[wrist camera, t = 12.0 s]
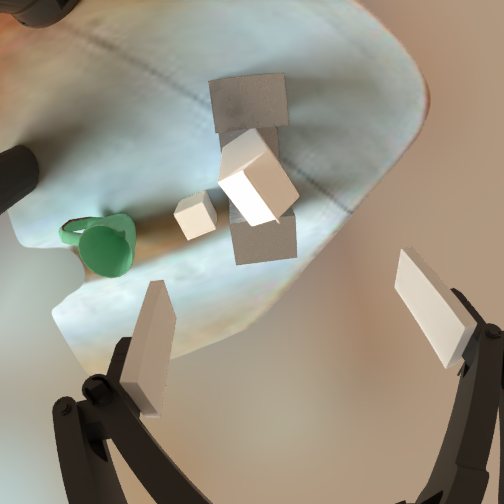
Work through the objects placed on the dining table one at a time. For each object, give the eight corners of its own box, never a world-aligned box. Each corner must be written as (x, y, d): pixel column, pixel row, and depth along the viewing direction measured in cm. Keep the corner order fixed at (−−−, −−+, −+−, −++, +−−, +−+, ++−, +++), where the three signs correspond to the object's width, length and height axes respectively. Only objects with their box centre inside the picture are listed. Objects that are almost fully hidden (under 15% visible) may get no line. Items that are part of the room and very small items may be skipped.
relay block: (179, 200, 51) (173, 214, 46) (205, 189, 51) (202, 202, 46) (191, 224, 54) (188, 240, 49) (217, 214, 53) (215, 229, 48)
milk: (254, 125, 44) (273, 153, 25) (275, 156, 47) (309, 207, 28) (221, 147, 45) (215, 192, 26) (243, 177, 48) (254, 241, 29)
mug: (151, 207, 52) (136, 233, 43) (143, 253, 56) (129, 284, 48) (79, 189, 48) (54, 211, 40) (76, 235, 53) (54, 262, 44)
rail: (212, 81, 42) (203, 77, 28) (269, 75, 42) (288, 68, 28) (231, 218, 54) (232, 269, 40) (282, 212, 54) (301, 260, 40)
